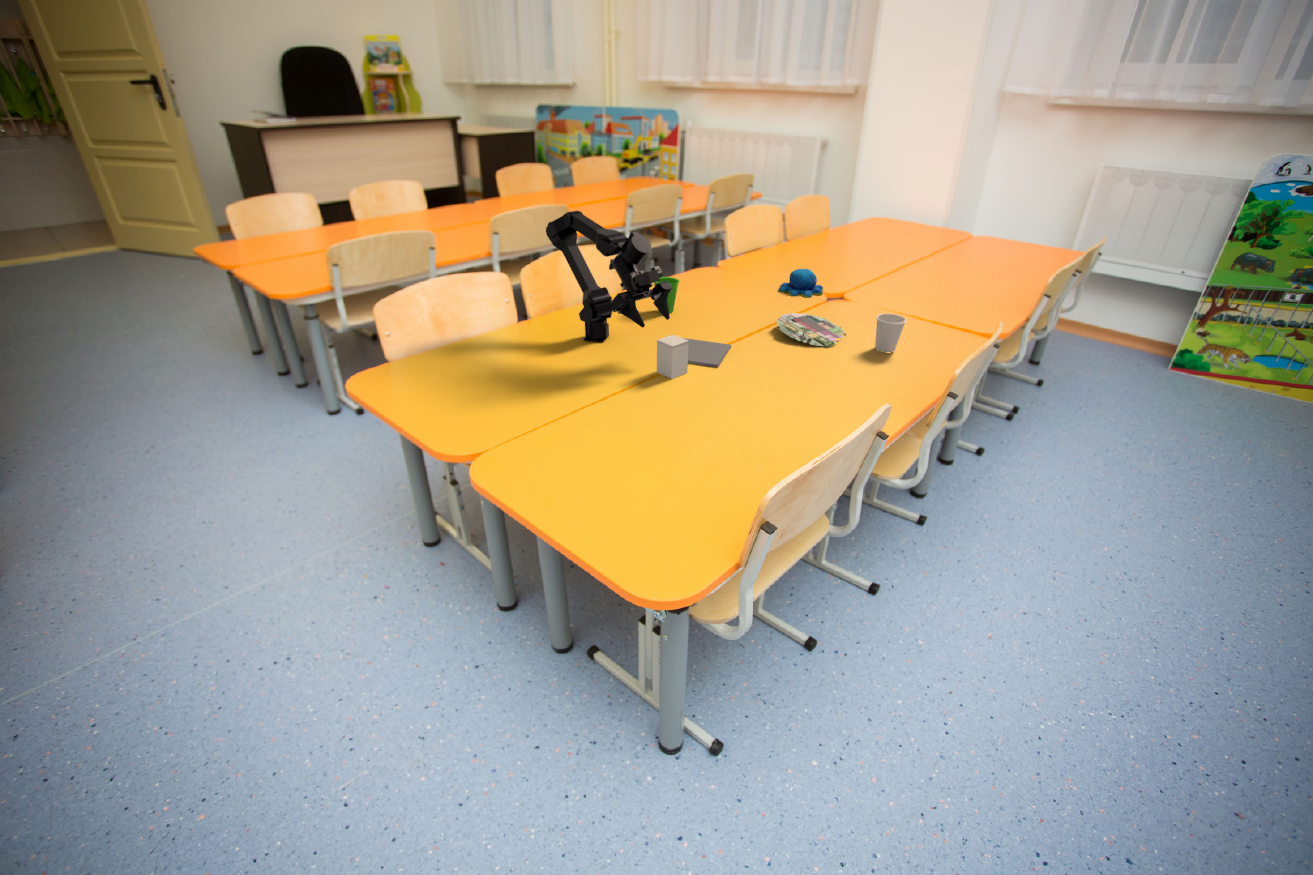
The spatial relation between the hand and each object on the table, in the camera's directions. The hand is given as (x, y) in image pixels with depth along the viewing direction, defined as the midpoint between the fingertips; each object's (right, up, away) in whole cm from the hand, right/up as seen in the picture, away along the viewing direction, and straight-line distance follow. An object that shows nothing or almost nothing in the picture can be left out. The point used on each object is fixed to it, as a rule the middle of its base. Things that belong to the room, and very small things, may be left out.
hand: (656, 322), depth 166 cm
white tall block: (+4, -13, +2) cm, 14 cm away
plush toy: (+56, +25, +69) cm, 92 cm away
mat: (+13, -6, +14) cm, 20 cm away
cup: (+3, +12, +46) cm, 47 cm away
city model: (+50, +1, +29) cm, 58 cm away
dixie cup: (+69, -5, +18) cm, 72 cm away
